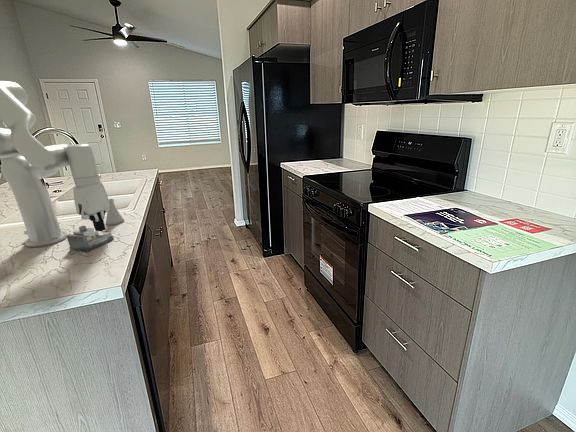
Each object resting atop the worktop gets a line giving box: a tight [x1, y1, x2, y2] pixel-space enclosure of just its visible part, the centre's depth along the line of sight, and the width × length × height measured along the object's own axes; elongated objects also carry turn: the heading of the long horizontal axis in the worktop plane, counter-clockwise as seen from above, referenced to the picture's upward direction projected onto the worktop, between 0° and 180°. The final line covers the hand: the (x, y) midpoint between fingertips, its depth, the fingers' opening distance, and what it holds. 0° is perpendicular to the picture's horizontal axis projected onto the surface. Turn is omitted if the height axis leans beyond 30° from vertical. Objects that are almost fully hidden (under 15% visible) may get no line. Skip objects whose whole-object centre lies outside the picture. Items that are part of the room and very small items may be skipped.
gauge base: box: [66, 230, 115, 253], centre depth 109 cm, size 11×8×6 cm
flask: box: [105, 198, 125, 226], centre depth 130 cm, size 7×7×10 cm
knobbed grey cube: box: [72, 225, 96, 242], centre depth 107 cm, size 4×6×6 cm, turn 74°
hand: (100, 230), depth 113 cm, fingers closed
